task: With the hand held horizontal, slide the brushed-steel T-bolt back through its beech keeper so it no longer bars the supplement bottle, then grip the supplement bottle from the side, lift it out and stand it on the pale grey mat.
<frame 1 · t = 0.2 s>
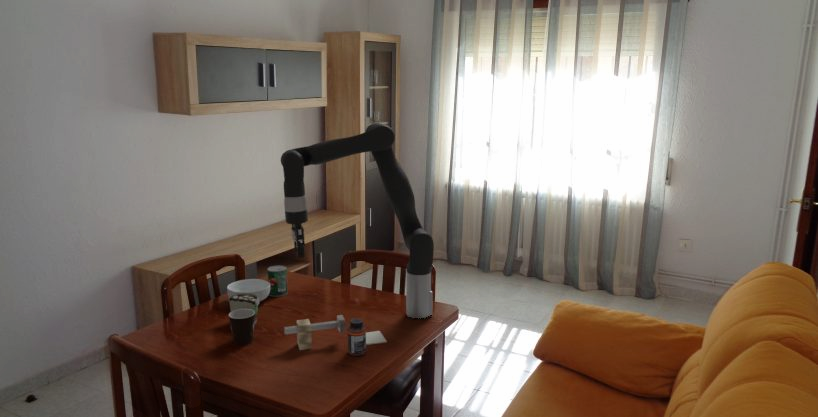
hand: (299, 254, 207), 28 cm above the table, tool pointing down, fingers open, 8 cm apart
coffee mug: (245, 339, 206), on the table
cereal bowl: (249, 302, 240), on the table
food container: (248, 321, 221), on the table
mat: (370, 338, 206), on the table
t bolt: (314, 326, 200), point 6 cm above the table, slide at 0.0 cm
supplement bottle: (357, 353, 196), on the table
keeper: (304, 346, 200), on the table
canned tomato: (278, 293, 249), on the table
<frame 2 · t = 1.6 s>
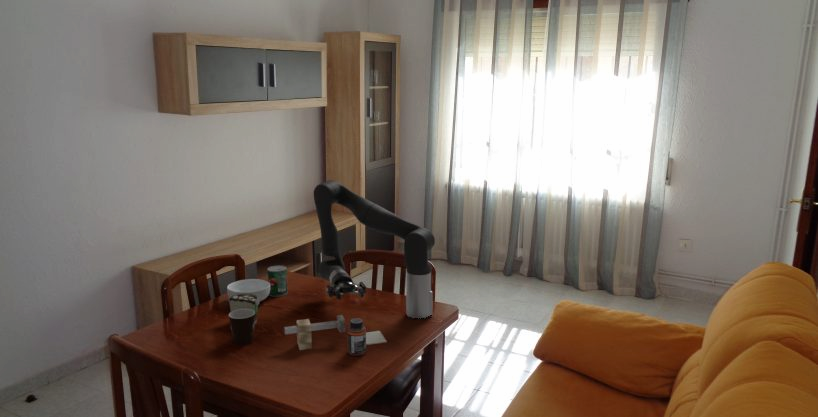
hand: (351, 296, 212), 12 cm above the table, tool horizontal, fingers open, 7 cm apart
nothing on the table moved.
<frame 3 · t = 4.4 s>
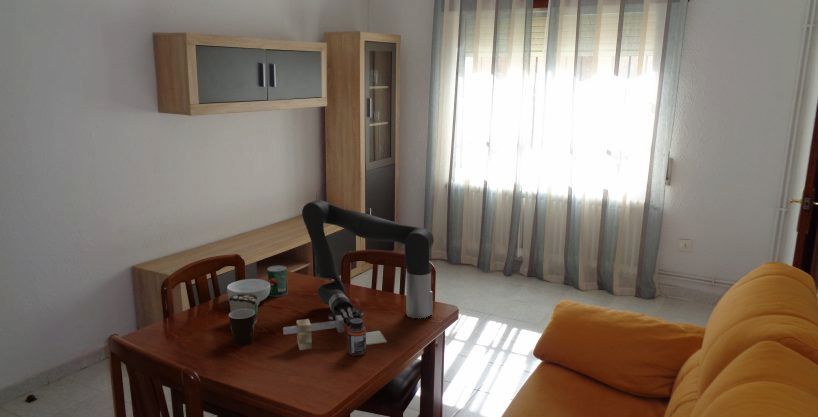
hand: (351, 324, 202), 6 cm above the table, tool horizontal, fingers closed
t bolt: (313, 327, 200), point 6 cm above the table, slide at 0.5 cm, touching gripper
everything else where it was.
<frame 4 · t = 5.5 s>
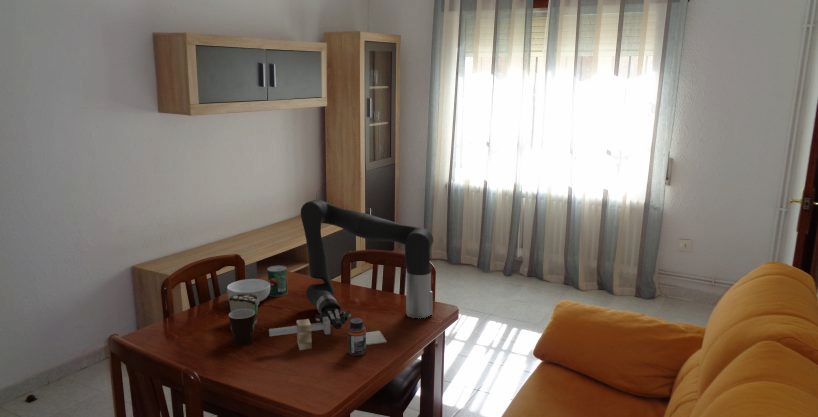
hand: (338, 326, 201), 6 cm above the table, tool horizontal, fingers closed
t bolt: (299, 328, 198), point 6 cm above the table, slide at 5.0 cm, touching gripper
everything else where it was.
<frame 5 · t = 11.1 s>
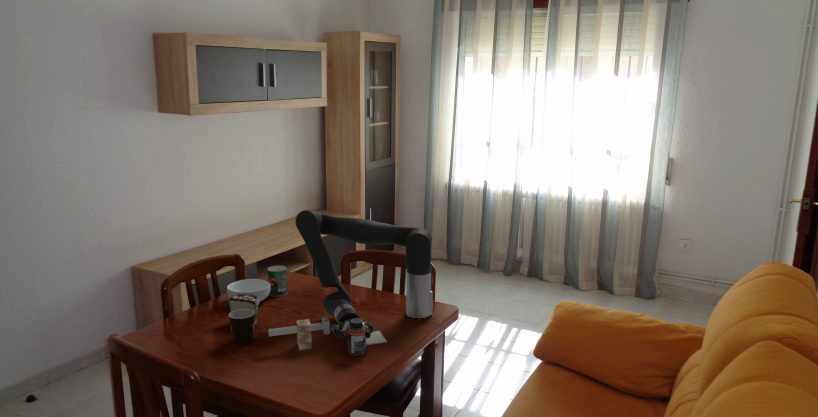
hand: (358, 337, 192), 7 cm above the table, tool horizontal, fingers closed on supplement bottle, 6 cm apart
t bolt: (299, 328, 198), point 6 cm above the table, slide at 5.2 cm
supplement bottle: (357, 353, 196), on the table, touching gripper
everything else where it was.
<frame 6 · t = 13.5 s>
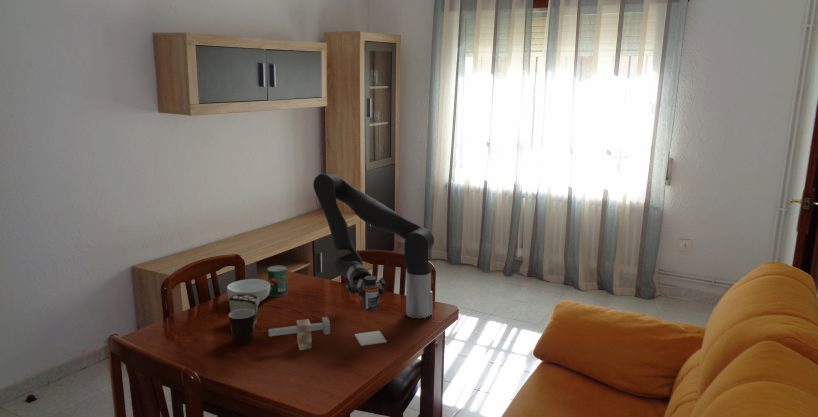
hand: (372, 293, 200), 18 cm above the table, tool horizontal, fingers closed on supplement bottle, 6 cm apart
supplement bottle: (370, 309, 204), point 11 cm above the table, touching gripper
everything else where it was.
when the fingers open (8 cm above the table, at t = 15.9 s): supplement bottle stays where it is, resting on mat.
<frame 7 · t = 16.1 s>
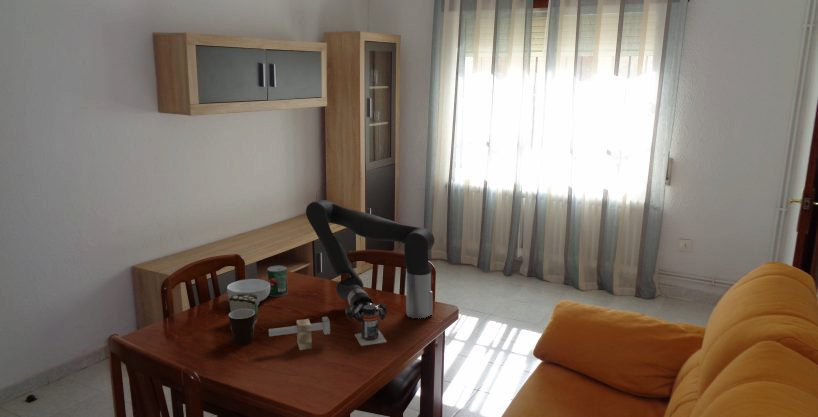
hand: (371, 318, 203), 8 cm above the table, tool horizontal, fingers open, 7 cm apart
supplement bottle: (369, 337, 206), resting on mat
everything else where it was.
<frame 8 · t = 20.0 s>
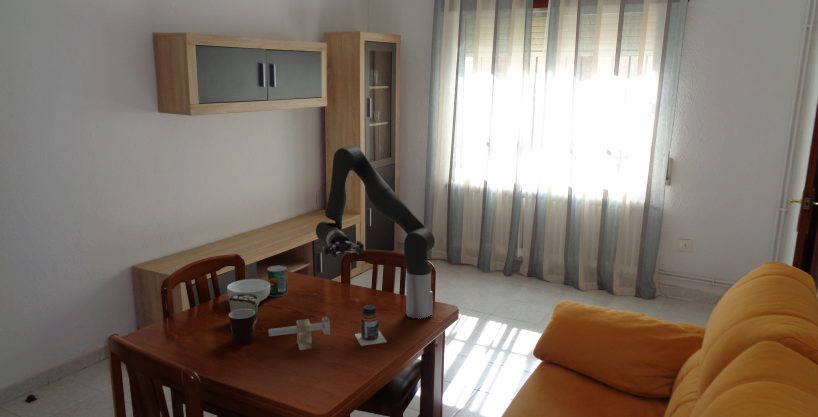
hand: (347, 253, 209), 28 cm above the table, tool horizontal, fingers open, 8 cm apart
nothing on the table moved.
at the end: t bolt slide at 5.2 cm; supplement bottle inside the target area on the mat (0.3 cm from its centre), point 0.2 cm above the mat's base; supplement bottle tilted 0° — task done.
